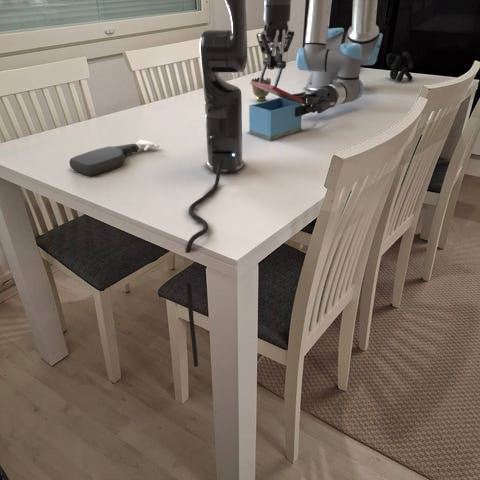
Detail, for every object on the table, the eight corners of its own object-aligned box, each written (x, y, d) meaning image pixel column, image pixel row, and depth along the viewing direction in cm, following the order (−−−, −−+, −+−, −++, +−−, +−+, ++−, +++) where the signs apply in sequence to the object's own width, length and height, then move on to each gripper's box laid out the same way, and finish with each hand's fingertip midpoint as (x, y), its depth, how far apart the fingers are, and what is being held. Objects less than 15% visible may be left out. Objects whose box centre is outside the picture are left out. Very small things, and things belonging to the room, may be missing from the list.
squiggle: (400, 92, 202) (376, 71, 205) (417, 76, 202) (392, 56, 205) (405, 81, 191) (380, 59, 194) (423, 64, 191) (397, 42, 194)
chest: (270, 140, 136) (271, 111, 131) (249, 133, 142) (249, 105, 138) (300, 130, 144) (302, 102, 139) (279, 123, 150) (280, 97, 145)
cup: (248, 101, 174) (248, 80, 169) (256, 97, 179) (256, 76, 175) (265, 103, 171) (266, 82, 166) (273, 99, 176) (274, 78, 172)
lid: (272, 89, 128) (282, 58, 126) (249, 83, 135) (259, 54, 133) (302, 102, 139) (311, 74, 137) (279, 97, 145) (288, 70, 143)
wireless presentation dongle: (67, 168, 120) (139, 144, 136) (91, 178, 114) (163, 151, 130) (65, 157, 118) (137, 134, 134) (89, 167, 112) (162, 142, 128)
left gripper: (284, 1, 130) (281, 64, 139) (249, 2, 122) (248, 69, 131) (304, 2, 125) (299, 68, 134) (268, 3, 117) (266, 73, 126)
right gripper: (354, 113, 149) (309, 128, 136) (304, 101, 163) (259, 113, 151) (357, 90, 145) (311, 103, 132) (305, 79, 159) (260, 90, 147)
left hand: (274, 68), depth 132 cm, fingers closed on lid, 2 cm apart
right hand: (284, 108), depth 142 cm, fingers closed on chest, 10 cm apart
